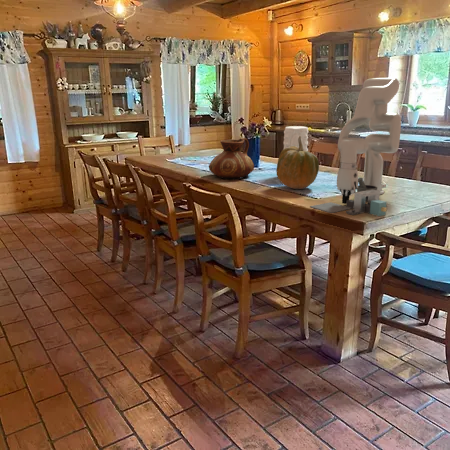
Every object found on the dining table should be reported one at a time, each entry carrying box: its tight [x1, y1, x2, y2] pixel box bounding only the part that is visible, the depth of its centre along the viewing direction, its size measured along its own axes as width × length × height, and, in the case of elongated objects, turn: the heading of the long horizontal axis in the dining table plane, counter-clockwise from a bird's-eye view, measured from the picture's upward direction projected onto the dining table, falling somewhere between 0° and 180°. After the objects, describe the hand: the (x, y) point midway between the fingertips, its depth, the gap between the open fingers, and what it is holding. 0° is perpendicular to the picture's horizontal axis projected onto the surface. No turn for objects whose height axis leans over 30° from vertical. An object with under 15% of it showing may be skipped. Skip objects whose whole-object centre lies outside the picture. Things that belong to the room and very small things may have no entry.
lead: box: [345, 199, 370, 214], centre depth 208 cm, size 3×16×3 cm, turn 29°
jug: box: [208, 137, 255, 180], centre depth 291 cm, size 30×30×25 cm
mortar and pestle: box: [356, 177, 377, 202], centre depth 224 cm, size 11×9×12 cm
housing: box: [345, 189, 381, 216], centre depth 205 cm, size 22×4×9 cm, turn 123°
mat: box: [309, 202, 353, 214], centre depth 212 cm, size 14×14×1 cm
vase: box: [282, 125, 310, 152], centre depth 289 cm, size 17×16×32 cm
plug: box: [369, 199, 387, 217], centre depth 199 cm, size 4×6×6 cm
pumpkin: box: [275, 136, 320, 190], centre depth 252 cm, size 23×26×30 cm
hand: (345, 203), depth 216 cm, fingers closed
